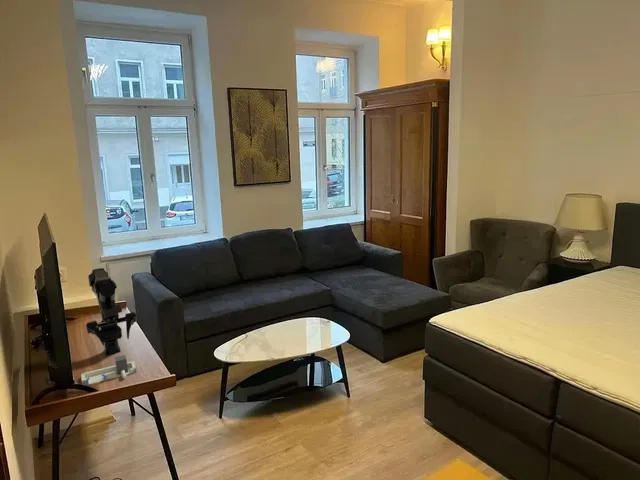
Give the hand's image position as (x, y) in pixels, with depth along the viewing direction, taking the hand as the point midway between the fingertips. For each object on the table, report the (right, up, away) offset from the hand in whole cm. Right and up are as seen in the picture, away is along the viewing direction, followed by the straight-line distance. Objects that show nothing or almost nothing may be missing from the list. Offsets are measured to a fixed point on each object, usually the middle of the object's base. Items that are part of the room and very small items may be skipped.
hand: (116, 342), depth 186 cm
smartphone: (-22, -15, +5) cm, 27 cm away
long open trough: (-4, -14, +3) cm, 15 cm away
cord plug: (+2, -14, +2) cm, 14 cm away
